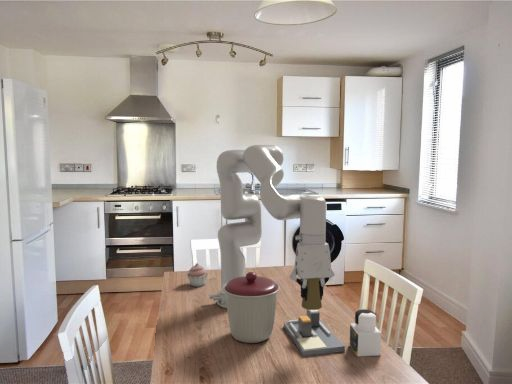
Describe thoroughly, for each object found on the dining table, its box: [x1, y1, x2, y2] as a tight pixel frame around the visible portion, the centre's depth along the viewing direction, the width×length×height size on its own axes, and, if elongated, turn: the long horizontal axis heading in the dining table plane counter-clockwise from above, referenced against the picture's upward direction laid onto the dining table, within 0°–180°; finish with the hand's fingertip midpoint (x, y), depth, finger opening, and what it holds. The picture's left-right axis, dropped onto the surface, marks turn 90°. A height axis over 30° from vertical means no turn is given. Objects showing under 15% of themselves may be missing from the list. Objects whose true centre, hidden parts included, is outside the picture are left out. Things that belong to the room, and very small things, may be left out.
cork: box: [301, 278, 323, 311], centre depth 120 cm, size 6×6×11 cm
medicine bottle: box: [349, 308, 382, 358], centre depth 120 cm, size 7×7×12 cm
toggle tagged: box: [297, 315, 312, 337], centre depth 128 cm, size 3×4×5 cm
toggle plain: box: [306, 309, 321, 327], centre depth 135 cm, size 3×4×5 cm
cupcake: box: [186, 262, 208, 288], centre depth 179 cm, size 9×9×10 cm
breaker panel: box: [283, 319, 346, 357], centre depth 129 cm, size 13×20×2 cm, turn 13°
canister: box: [223, 271, 281, 344], centre depth 129 cm, size 18×18×21 cm
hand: (311, 298), depth 121 cm, fingers closed on cork, 3 cm apart
